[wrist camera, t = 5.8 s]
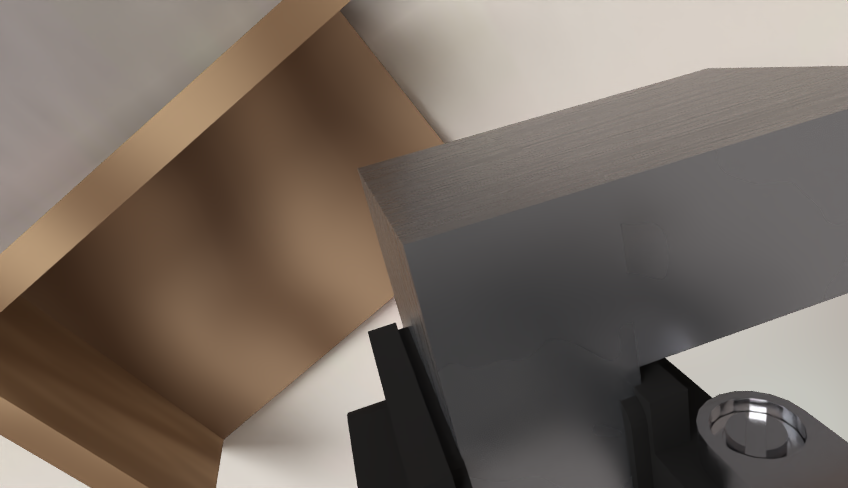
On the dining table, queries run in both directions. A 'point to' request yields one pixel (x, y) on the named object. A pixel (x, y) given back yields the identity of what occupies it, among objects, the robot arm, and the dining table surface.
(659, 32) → the dining table surface
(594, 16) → the dining table surface
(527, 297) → the bracket
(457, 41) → the dining table surface
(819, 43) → the dining table surface
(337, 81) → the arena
